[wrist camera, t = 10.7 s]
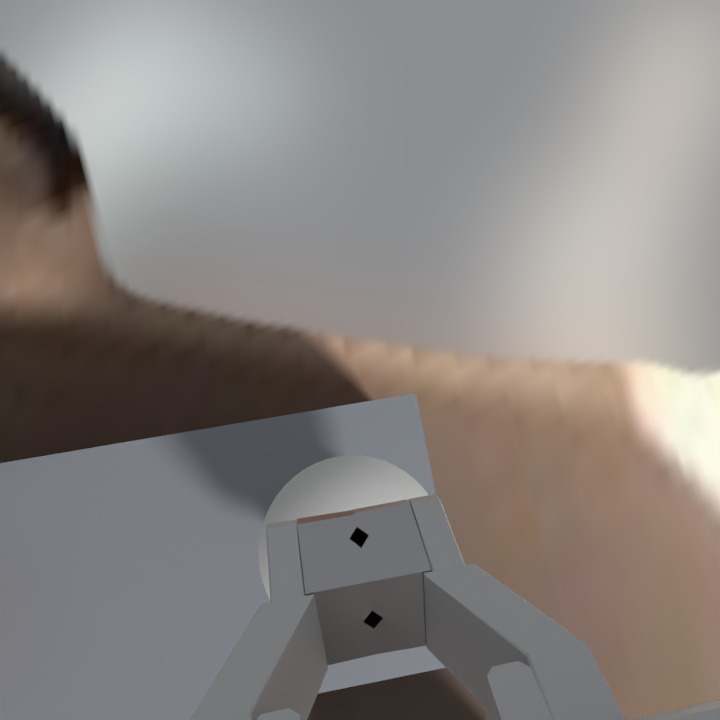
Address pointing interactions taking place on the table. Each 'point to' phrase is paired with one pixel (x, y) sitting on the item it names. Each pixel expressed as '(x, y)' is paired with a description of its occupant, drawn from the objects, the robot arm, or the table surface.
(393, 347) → the table surface
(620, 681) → the table surface
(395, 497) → the grey bulb-shaped piece
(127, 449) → the block
